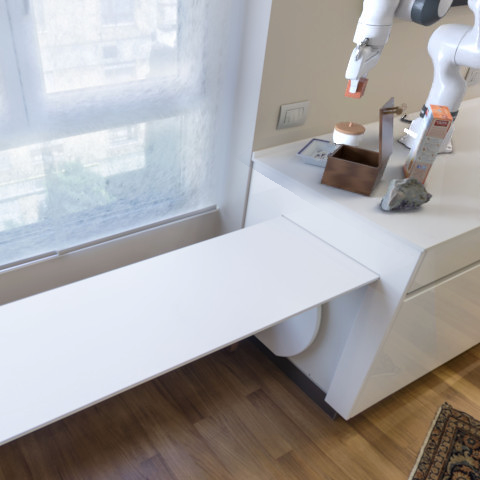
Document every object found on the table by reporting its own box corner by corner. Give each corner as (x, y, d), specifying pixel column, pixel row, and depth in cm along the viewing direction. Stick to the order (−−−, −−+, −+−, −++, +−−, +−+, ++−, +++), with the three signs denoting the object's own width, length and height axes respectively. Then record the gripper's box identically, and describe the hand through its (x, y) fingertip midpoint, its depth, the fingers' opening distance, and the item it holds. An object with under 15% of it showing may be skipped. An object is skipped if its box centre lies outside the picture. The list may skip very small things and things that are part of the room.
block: (348, 92, 134) (353, 76, 131) (363, 95, 132) (368, 78, 129) (344, 96, 131) (348, 79, 128) (359, 99, 129) (364, 82, 126)
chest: (320, 183, 144) (328, 156, 138) (334, 169, 153) (341, 143, 147) (369, 196, 138) (379, 169, 132) (380, 180, 146) (390, 154, 140)
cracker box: (424, 185, 144) (454, 119, 130) (404, 182, 146) (432, 116, 131) (421, 168, 154) (449, 105, 140) (403, 166, 155) (428, 103, 141)
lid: (379, 109, 123) (399, 106, 120) (391, 97, 131) (410, 94, 128) (378, 168, 132) (397, 167, 129) (389, 153, 140) (407, 152, 137)
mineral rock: (426, 206, 134) (441, 174, 127) (424, 222, 127) (439, 189, 120) (382, 196, 138) (394, 165, 131) (377, 211, 131) (390, 179, 124)
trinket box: (360, 154, 162) (369, 128, 156) (330, 152, 164) (338, 126, 157) (356, 143, 170) (364, 118, 164) (328, 141, 171) (335, 116, 165)
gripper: (372, 43, 113) (356, 100, 123) (392, 31, 126) (375, 83, 135) (348, 40, 116) (333, 96, 125) (370, 28, 128) (355, 80, 138)
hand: (355, 89), depth 130 cm, fingers closed on block, 4 cm apart
